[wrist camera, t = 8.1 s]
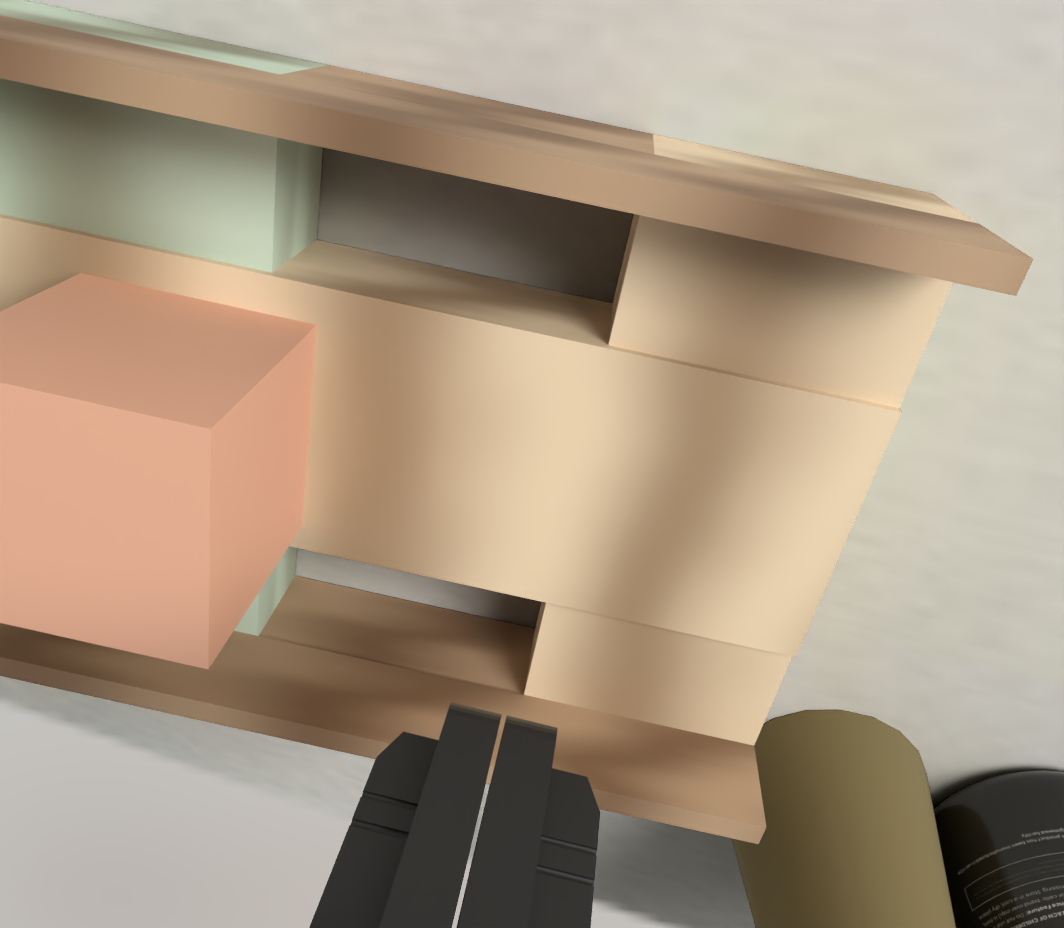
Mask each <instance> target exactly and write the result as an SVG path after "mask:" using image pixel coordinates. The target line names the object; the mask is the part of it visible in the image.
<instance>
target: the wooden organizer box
mask: <svg viewBox="0 0 1064 928" xmlns="http://www.w3.org/2000/svg"><path fill="white" fill-rule="evenodd" d="M323 147H324V148H328V149H333V150H338V151H342V152H347V153H352V154H356V155H361V156H366V157H370V158H375V159H380V160H384V161H389V162H394V163H399V164H403V165H408V166H413V167H417V168H422V169H427V170H431V171H436V172H441V173H445V174H450V175H455V176H459V177H464V178H469V179H473V180H478V181H483V182H487V183H492V184H497V185H501V186H506V187H511V188H515V189H520V190H525V191H529V192H534V193H539V194H543V195H548V196H553V197H557V198H562V199H567V200H571V201H576V202H581V203H585V204H590V205H595V206H599V207H604V208H609V209H613V210H618V211H623V212H627V213H632V214H634V216H633V220H632V224H631V228H630V232H629V237H628V241H627V245H626V249H625V253H624V258H623V262H622V266H621V270H620V274H619V279H618V283H617V287H616V291H615V295H614V300H613V303H608V302H604V301H599V300H594V299H590V298H585V297H580V296H576V295H571V294H566V293H562V292H557V291H553V290H548V289H543V288H539V287H534V286H529V285H525V284H520V283H515V282H511V281H506V280H501V279H497V278H492V277H488V276H483V275H478V274H474V273H469V272H464V271H460V270H455V269H450V268H446V267H441V266H437V265H432V264H427V263H423V262H418V261H413V260H409V259H404V258H399V257H395V256H390V255H385V254H381V253H376V252H372V251H367V250H362V249H358V248H353V247H348V246H344V245H339V244H334V243H330V242H325V241H321V240H317V233H318V217H319V202H320V186H321V171H322V156H323ZM1032 261H1033V259H1032V258H1031V257H1029V256H1028V255H1026V254H1025V253H1023V252H1022V251H1020V250H1018V249H1017V248H1015V247H1014V246H1012V245H1011V244H1009V243H1008V242H1006V241H1005V240H1003V239H1002V238H1000V237H999V236H997V235H995V234H994V233H992V232H991V231H989V230H988V229H986V228H985V227H983V226H982V225H980V224H979V223H977V222H975V221H974V220H972V219H971V218H969V217H968V216H966V215H965V214H963V213H962V212H960V211H959V210H957V209H956V208H954V207H952V206H951V205H949V204H948V203H946V202H945V201H943V200H942V199H940V198H939V197H937V196H936V195H934V194H931V193H926V192H921V191H917V190H912V189H907V188H903V187H898V186H893V185H888V184H884V183H879V182H874V181H870V180H865V179H860V178H856V177H851V176H846V175H842V174H837V173H832V172H827V171H823V170H818V169H813V168H809V167H804V166H799V165H795V164H790V163H785V162H781V161H776V160H771V159H766V158H762V157H757V156H752V155H748V154H743V153H738V152H734V151H729V150H724V149H720V148H715V147H710V146H705V145H701V144H696V143H691V142H687V141H682V140H677V139H673V138H668V137H663V136H659V135H654V134H649V133H644V132H640V131H635V130H630V129H626V128H621V127H616V126H612V125H607V124H602V123H598V122H593V121H588V120H583V119H579V118H574V117H569V116H565V115H560V114H555V113H551V112H546V111H541V110H536V109H532V108H527V107H522V106H518V105H513V104H508V103H504V102H499V101H494V100H490V99H485V98H480V97H475V96H471V95H466V94H461V93H457V92H452V91H447V90H443V89H438V88H433V87H429V86H424V85H419V84H414V83H410V82H405V81H400V80H396V79H391V78H386V77H382V76H377V75H372V74H368V73H363V72H358V71H353V70H349V69H344V68H339V67H335V66H330V65H325V64H321V63H316V62H311V61H307V60H302V59H297V58H292V57H288V56H283V55H278V54H274V53H269V52H264V51H260V50H255V49H250V48H246V47H241V46H236V45H231V44H227V43H222V42H217V41H213V40H208V39H203V38H199V37H194V36H189V35H185V34H180V33H175V32H170V31H166V30H161V29H156V28H152V27H147V26H142V25H138V24H133V23H128V22H124V21H119V20H114V19H109V18H105V17H100V16H95V15H91V14H86V13H81V12H77V11H72V10H67V9H63V8H58V7H53V6H48V5H44V4H39V3H34V2H30V1H25V0H0V311H2V310H4V309H7V308H9V307H11V306H13V305H15V304H17V303H19V302H21V301H23V300H25V299H27V298H30V297H32V296H34V295H36V294H38V293H40V292H42V291H44V290H46V289H48V288H50V287H53V286H55V285H57V284H59V283H61V282H63V281H65V280H67V279H69V278H71V277H73V276H76V275H78V274H80V273H83V274H88V275H92V276H97V277H101V278H106V279H110V280H115V281H119V282H124V283H128V284H133V285H138V286H142V287H147V288H151V289H156V290H160V291H165V292H169V293H174V294H178V295H183V296H188V297H192V298H197V299H201V300H206V301H210V302H215V303H219V304H224V305H228V306H233V307H238V308H242V309H247V310H251V311H256V312H260V313H265V314H269V315H274V316H278V317H283V318H288V319H292V320H297V321H301V322H306V323H310V324H315V325H317V329H316V343H315V357H314V371H313V385H312V399H311V413H310V427H309V441H308V455H307V468H306V482H305V496H304V510H303V524H302V527H301V528H300V530H299V531H298V533H297V535H296V536H295V538H294V539H293V541H292V542H291V544H290V545H289V547H288V548H287V550H286V551H285V553H284V554H283V556H282V558H281V559H280V561H279V562H278V564H277V565H276V567H275V568H274V570H273V571H272V573H271V574H270V576H269V577H268V579H267V581H266V582H265V584H264V585H263V587H262V588H261V590H260V591H259V593H258V594H257V596H256V597H255V599H254V600H253V602H252V604H251V605H250V607H249V608H248V610H247V611H246V613H245V614H244V616H243V617H242V619H241V620H240V622H239V623H238V625H237V626H236V628H235V630H234V631H233V633H232V634H231V636H230V637H229V639H228V640H227V642H226V643H225V645H224V646H223V648H222V649H221V651H220V653H219V654H218V656H217V657H216V659H215V660H214V662H213V663H212V665H211V666H210V668H209V669H204V668H200V667H195V666H191V665H186V664H182V663H177V662H173V661H168V660H164V659H159V658H155V657H151V656H146V655H142V654H137V653H133V652H128V651H124V650H119V649H115V648H110V647H106V646H101V645H97V644H93V643H88V642H84V641H79V640H75V639H70V638H66V637H61V636H57V635H52V634H48V633H44V632H39V631H35V630H30V629H26V628H21V627H17V626H12V625H8V624H3V623H0V676H4V677H8V678H13V679H17V680H22V681H26V682H31V683H35V684H40V685H44V686H49V687H53V688H58V689H62V690H67V691H71V692H76V693H80V694H85V695H89V696H94V697H98V698H103V699H107V700H112V701H116V702H121V703H125V704H130V705H134V706H139V707H143V708H148V709H152V710H157V711H161V712H166V713H170V714H175V715H179V716H184V717H188V718H193V719H197V720H202V721H206V722H211V723H215V724H220V725H224V726H229V727H233V728H238V729H242V730H247V731H251V732H256V733H260V734H265V735H269V736H274V737H278V738H283V739H287V740H292V741H296V742H301V743H305V744H310V745H314V746H319V747H323V748H328V749H332V750H337V751H341V752H346V753H350V754H355V755H359V756H364V757H368V758H373V759H376V758H377V756H378V755H379V754H380V753H381V752H382V751H383V750H384V749H385V748H386V747H388V746H389V745H390V744H391V743H392V742H393V741H394V740H395V739H396V738H397V737H398V736H399V735H400V734H401V733H402V732H403V731H404V732H408V733H412V734H416V735H420V736H424V737H428V738H432V739H436V740H439V737H440V734H441V731H442V728H443V724H444V721H445V718H446V715H447V712H448V709H449V706H450V704H451V702H454V703H458V704H462V705H466V706H470V707H474V708H478V709H483V710H487V711H491V712H495V713H499V714H502V716H501V721H500V725H499V729H498V733H497V737H496V742H495V746H494V750H493V754H492V759H491V763H490V767H489V771H488V776H487V780H486V784H490V783H491V778H492V774H493V770H494V766H495V762H496V757H497V753H498V749H499V745H500V741H501V737H502V732H503V728H504V724H505V720H506V716H507V715H508V716H512V717H516V718H520V719H524V720H528V721H532V722H536V723H540V724H544V725H549V726H553V727H557V729H558V730H557V739H556V745H555V752H554V758H553V765H552V768H554V769H558V770H562V771H566V772H570V773H574V774H578V775H582V776H586V777H588V780H589V783H590V785H591V788H592V791H593V794H594V797H595V799H596V802H597V805H598V808H599V809H602V810H607V811H611V812H616V813H620V814H625V815H629V816H633V817H638V818H642V819H647V820H651V821H656V822H660V823H665V824H669V825H674V826H678V827H683V828H687V829H692V830H696V831H701V832H705V833H710V834H714V835H719V836H723V837H728V838H732V839H737V840H741V841H746V842H750V843H755V844H759V842H760V840H761V838H762V836H763V834H764V831H765V829H766V821H765V814H764V808H763V801H762V794H761V788H760V781H759V774H758V768H757V761H756V755H755V748H754V745H755V743H756V740H757V738H758V736H759V733H760V731H761V729H762V726H763V724H764V722H765V719H766V717H767V715H768V712H769V710H770V708H771V705H772V703H773V701H774V698H775V696H776V694H777V691H778V689H779V687H780V684H781V682H782V680H783V677H784V675H785V673H786V670H787V668H788V666H789V664H790V661H791V659H792V657H795V658H796V656H797V654H798V651H799V649H800V647H801V644H802V642H803V640H804V637H805V635H806V633H807V630H808V628H809V626H810V624H811V621H812V619H813V617H814V614H815V612H816V610H817V607H818V605H819V603H820V600H821V598H822V596H823V594H824V591H825V589H826V587H827V584H828V582H829V580H830V577H831V575H832V573H833V570H834V568H835V566H836V563H837V561H838V559H839V557H840V554H841V552H842V550H843V547H844V545H845V543H846V540H847V538H848V536H849V533H850V531H851V529H852V527H853V524H854V522H855V520H856V517H857V515H858V513H859V510H860V508H861V506H862V503H863V501H864V499H865V497H866V494H867V492H868V490H869V487H870V485H871V483H872V480H873V478H874V476H875V473H876V471H877V469H878V466H879V464H880V462H881V460H882V457H883V455H884V453H885V450H886V448H887V446H888V443H889V441H890V439H891V436H892V434H893V432H894V430H895V427H896V425H897V423H898V420H899V418H900V416H901V413H902V411H901V410H900V406H901V403H902V401H903V399H904V396H905V394H906V392H907V389H908V387H909V385H910V382H911V380H912V378H913V375H914V373H915V371H916V368H917V366H918V364H919V361H920V359H921V357H922V354H923V352H924V350H925V347H926V345H927V343H928V341H929V338H930V336H931V334H932V331H933V329H934V327H935V324H936V322H937V320H938V317H939V315H940V313H941V310H942V308H943V306H944V303H945V301H946V299H947V296H948V294H949V292H950V289H951V287H952V285H953V282H954V283H959V284H963V285H968V286H973V287H977V288H982V289H987V290H991V291H996V292H1001V293H1005V294H1010V295H1015V296H1016V295H1017V293H1018V291H1019V289H1020V286H1021V284H1022V282H1023V280H1024V278H1025V276H1026V274H1027V272H1028V269H1029V267H1030V265H1031V263H1032ZM297 548H299V549H304V550H309V551H313V552H318V553H322V554H327V555H331V556H336V557H340V558H345V559H349V560H354V561H359V562H363V563H368V564H372V565H377V566H381V567H386V568H390V569H395V570H400V571H404V572H409V573H413V574H418V575H422V576H427V577H431V578H436V579H441V580H445V581H450V582H454V583H459V584H463V585H468V586H472V587H477V588H481V589H486V590H491V591H495V592H500V593H504V594H509V595H513V596H518V597H522V598H527V599H532V600H536V601H541V606H540V610H539V614H538V618H537V623H536V627H535V629H534V628H530V627H525V626H521V625H516V624H512V623H507V622H503V621H498V620H494V619H489V618H484V617H480V616H475V615H471V614H466V613H462V612H457V611H453V610H448V609H444V608H439V607H434V606H430V605H425V604H421V603H416V602H412V601H407V600H403V599H398V598H394V597H389V596H384V595H380V594H375V593H371V592H366V591H362V590H357V589H353V588H348V587H344V586H339V585H334V584H330V583H325V582H321V581H316V580H312V579H307V578H303V577H298V576H295V571H296V556H297Z"/></svg>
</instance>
